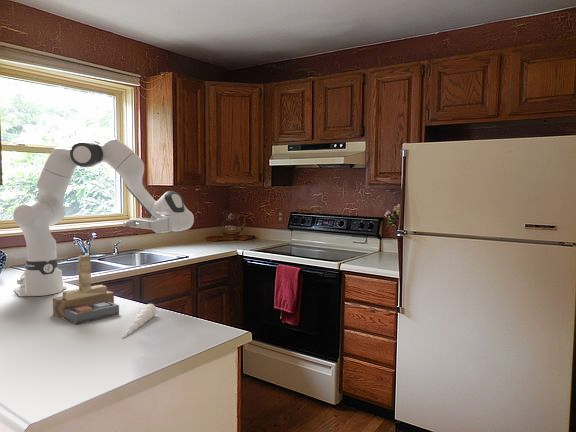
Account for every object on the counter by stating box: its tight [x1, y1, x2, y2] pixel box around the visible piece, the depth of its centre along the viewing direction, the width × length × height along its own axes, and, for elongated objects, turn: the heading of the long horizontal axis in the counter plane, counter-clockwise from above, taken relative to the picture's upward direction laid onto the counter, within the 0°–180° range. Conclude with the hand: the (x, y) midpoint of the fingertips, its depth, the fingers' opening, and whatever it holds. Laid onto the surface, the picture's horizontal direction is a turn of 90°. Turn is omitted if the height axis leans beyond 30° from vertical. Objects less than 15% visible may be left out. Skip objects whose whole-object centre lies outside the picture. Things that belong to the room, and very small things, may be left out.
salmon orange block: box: [75, 306, 92, 313], centre depth 151 cm, size 4×4×3 cm
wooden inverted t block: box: [62, 254, 108, 300], centre depth 160 cm, size 4×14×14 cm, turn 140°
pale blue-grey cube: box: [94, 302, 110, 310], centre depth 156 cm, size 4×4×3 cm
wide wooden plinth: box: [52, 290, 115, 320], centre depth 161 cm, size 9×18×6 cm, turn 140°
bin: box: [64, 301, 120, 326], centre depth 154 cm, size 9×15×4 cm, turn 140°
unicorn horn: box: [121, 303, 158, 339], centre depth 144 cm, size 5×24×5 cm, turn 174°
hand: (130, 224), depth 178 cm, fingers open, 8 cm apart
